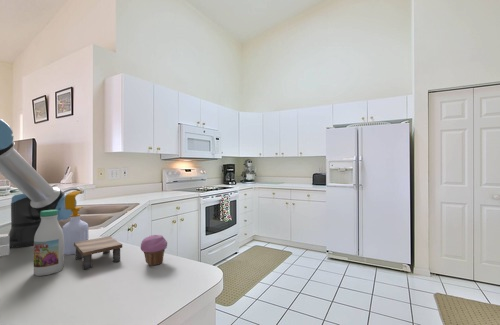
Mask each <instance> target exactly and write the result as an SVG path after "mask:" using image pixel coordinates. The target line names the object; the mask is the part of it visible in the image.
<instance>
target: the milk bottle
mask: <svg viewBox="0 0 500 325" xmlns="http://www.w3.org/2000/svg"><path fill="white" fill-rule="evenodd" d="M40 216H41V217H40V218H41V223H40V225H39V227H38V229H37V231H36V233H35V236H34V245H33V275H34V276H36V277H38V276H39V277H41V276H42V277H43V276H48V275H53V274H57V273H58V272H60V271H63V269H64V267H65V266H64V264H65V263H64V262H65V258H64V257H65V254H64V236H63V230H62V227H61V225H60V222H59V221H58V220H57V216H58V210H45V211H41V212H40Z"/></svg>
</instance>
